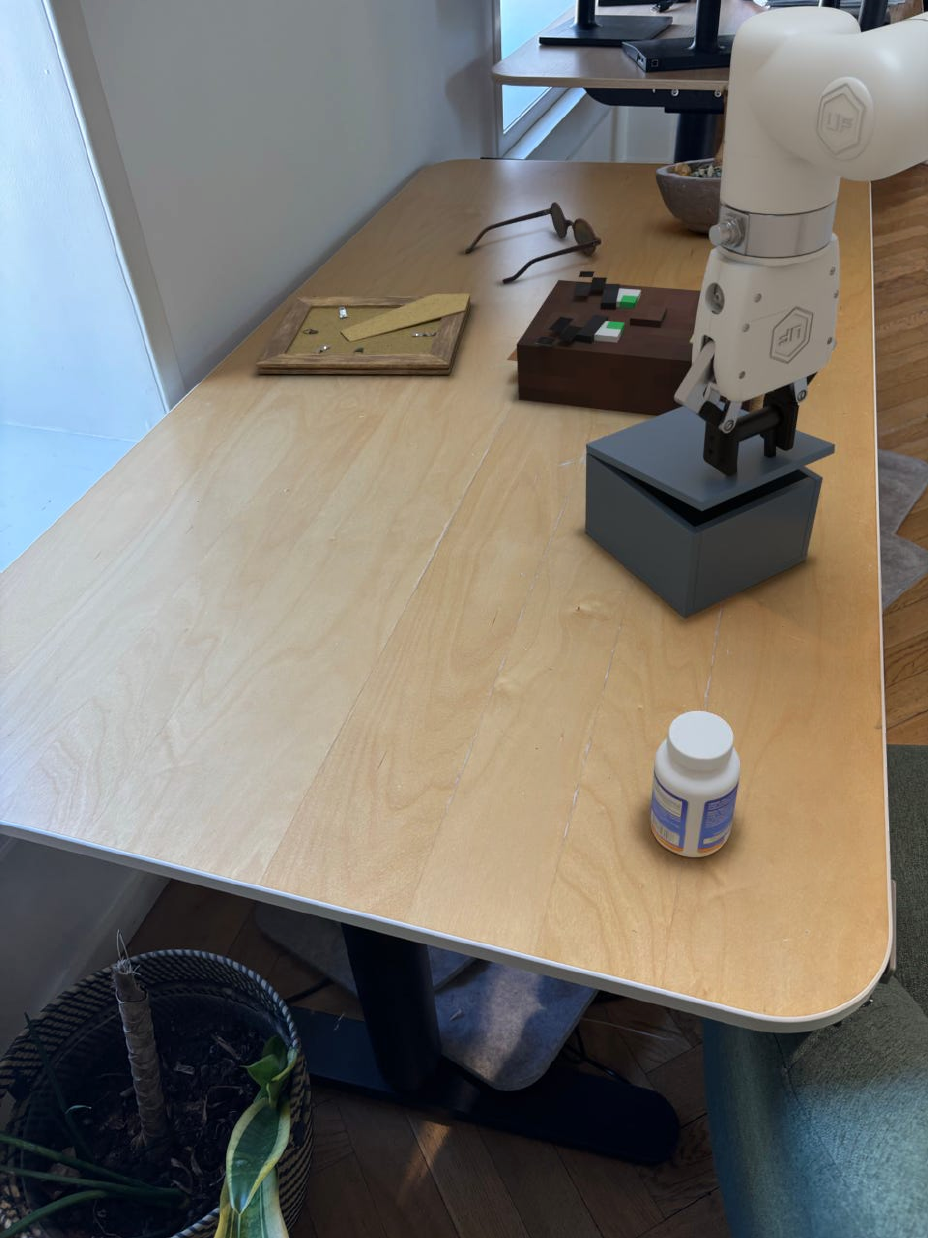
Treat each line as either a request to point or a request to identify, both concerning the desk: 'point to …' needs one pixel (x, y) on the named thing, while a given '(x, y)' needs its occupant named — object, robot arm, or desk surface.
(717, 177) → the planter
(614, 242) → the desk surface
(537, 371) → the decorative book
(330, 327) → the picture frame
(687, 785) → the pill bottle
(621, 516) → the grey open box
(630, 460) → the lid
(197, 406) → the desk surface
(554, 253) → the eyeglasses
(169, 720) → the desk surface
